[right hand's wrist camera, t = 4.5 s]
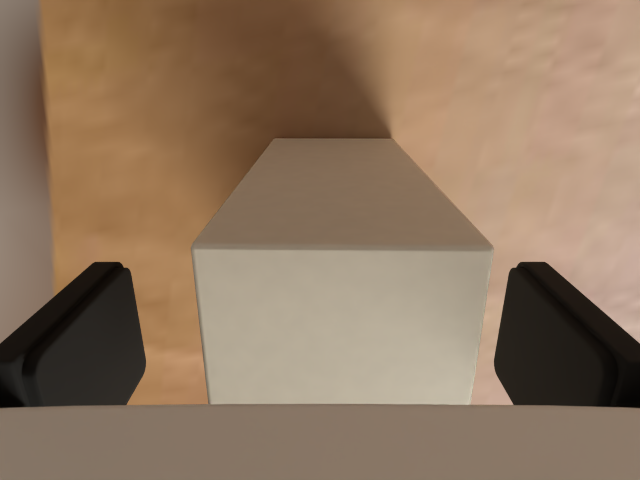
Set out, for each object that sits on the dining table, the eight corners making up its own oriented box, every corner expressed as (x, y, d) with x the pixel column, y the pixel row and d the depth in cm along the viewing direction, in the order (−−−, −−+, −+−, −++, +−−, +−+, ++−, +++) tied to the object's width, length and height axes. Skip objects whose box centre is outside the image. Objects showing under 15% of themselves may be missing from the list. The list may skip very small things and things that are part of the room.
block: (393, 138, 17) (497, 246, 7) (384, 298, 19) (448, 559, 9) (272, 137, 17) (188, 244, 7) (279, 297, 19) (223, 555, 9)
